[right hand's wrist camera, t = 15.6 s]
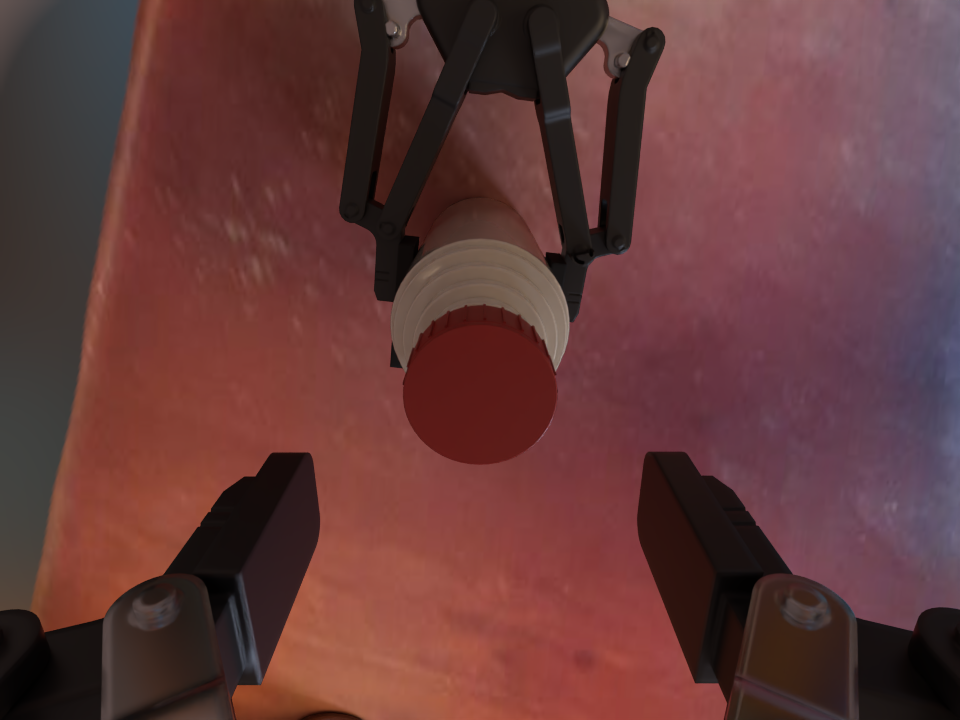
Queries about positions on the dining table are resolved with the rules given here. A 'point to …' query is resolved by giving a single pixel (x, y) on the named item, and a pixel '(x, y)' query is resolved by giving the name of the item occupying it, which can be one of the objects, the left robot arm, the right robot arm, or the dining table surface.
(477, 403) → the cap
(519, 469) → the dining table surface
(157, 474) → the dining table surface
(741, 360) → the dining table surface
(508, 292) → the bottle
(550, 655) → the dining table surface
